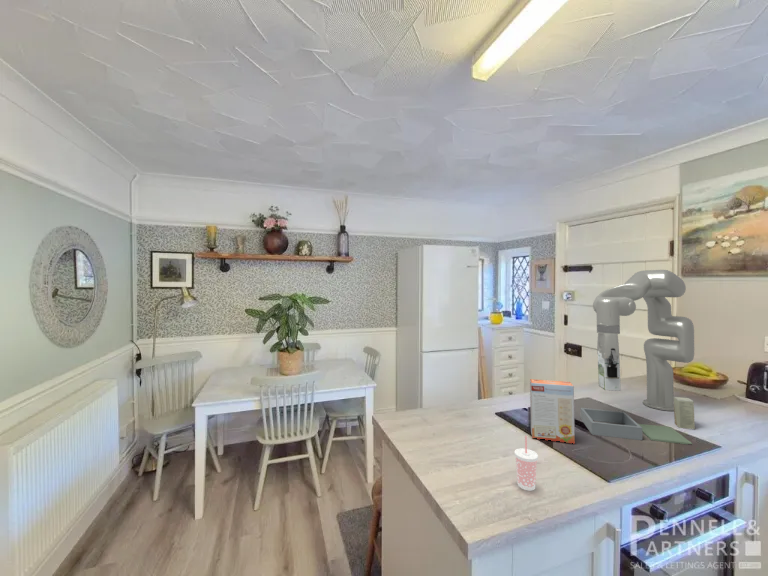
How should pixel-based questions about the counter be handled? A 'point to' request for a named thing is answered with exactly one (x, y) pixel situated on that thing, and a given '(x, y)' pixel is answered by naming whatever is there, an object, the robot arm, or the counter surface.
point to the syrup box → (604, 380)
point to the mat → (663, 434)
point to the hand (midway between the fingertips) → (609, 374)
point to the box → (684, 412)
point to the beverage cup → (526, 467)
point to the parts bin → (613, 430)
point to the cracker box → (552, 410)
